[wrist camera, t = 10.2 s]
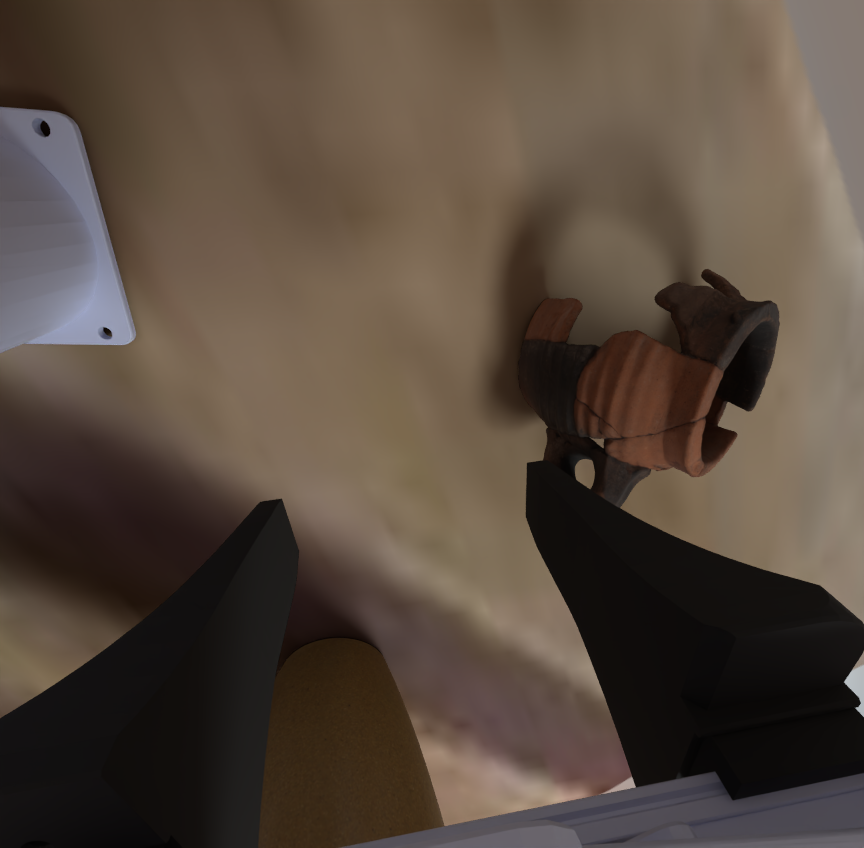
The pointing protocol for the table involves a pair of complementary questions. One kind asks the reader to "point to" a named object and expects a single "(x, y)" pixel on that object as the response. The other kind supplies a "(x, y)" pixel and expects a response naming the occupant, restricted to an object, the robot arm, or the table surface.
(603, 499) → the robot arm
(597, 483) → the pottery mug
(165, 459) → the table surface
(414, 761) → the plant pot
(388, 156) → the table surface
